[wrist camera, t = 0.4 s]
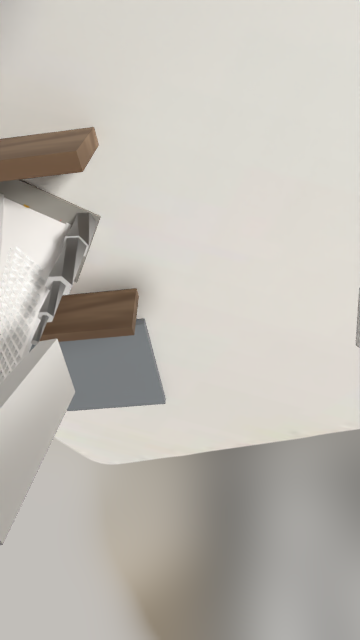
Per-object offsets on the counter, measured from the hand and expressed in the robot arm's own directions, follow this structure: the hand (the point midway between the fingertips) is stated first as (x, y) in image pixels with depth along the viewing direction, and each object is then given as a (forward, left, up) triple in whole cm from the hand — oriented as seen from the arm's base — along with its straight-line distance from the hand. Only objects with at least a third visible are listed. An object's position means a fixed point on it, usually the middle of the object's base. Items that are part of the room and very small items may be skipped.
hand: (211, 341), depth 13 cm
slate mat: (+19, -13, -13) cm, 27 cm away
